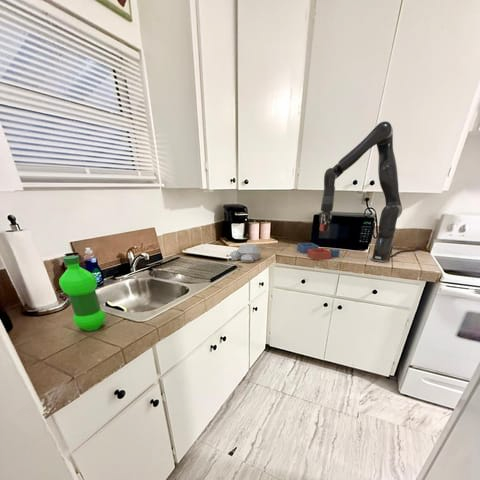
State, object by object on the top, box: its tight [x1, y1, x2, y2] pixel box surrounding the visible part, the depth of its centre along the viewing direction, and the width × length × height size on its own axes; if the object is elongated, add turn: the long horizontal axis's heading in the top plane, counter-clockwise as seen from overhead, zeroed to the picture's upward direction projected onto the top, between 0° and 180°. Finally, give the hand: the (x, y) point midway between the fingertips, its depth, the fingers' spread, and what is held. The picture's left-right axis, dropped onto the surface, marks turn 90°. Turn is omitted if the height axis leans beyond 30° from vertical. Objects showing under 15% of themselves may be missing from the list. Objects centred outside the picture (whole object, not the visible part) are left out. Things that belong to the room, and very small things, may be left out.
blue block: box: [329, 248, 340, 258], centre depth 174 cm, size 4×4×4 cm
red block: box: [318, 223, 330, 232], centre depth 178 cm, size 4×4×4 cm
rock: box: [228, 243, 262, 263], centre depth 168 cm, size 18×20×10 cm
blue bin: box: [296, 242, 319, 254], centre depth 188 cm, size 11×11×4 cm
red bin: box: [306, 247, 332, 261], centre depth 172 cm, size 11×11×4 cm
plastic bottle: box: [58, 254, 107, 332], centre depth 86 cm, size 10×10×25 cm
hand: (323, 230), depth 178 cm, fingers closed on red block, 4 cm apart
